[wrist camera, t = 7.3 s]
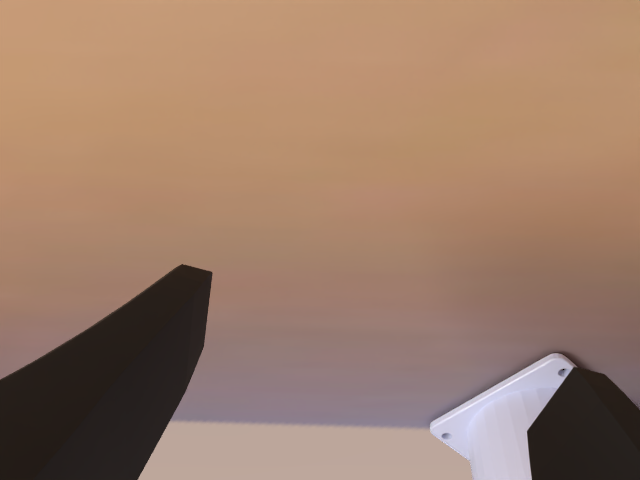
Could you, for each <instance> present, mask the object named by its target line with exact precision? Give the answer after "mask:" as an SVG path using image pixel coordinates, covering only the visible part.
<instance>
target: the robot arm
mask: <svg viewBox="0 0 640 480" xmlns="http://www.w3.org/2000/svg"><path fill="white" fill-rule="evenodd" d="M211 280H212V272H210V271H206V270H203V269H199V268H195V267H191V266H187V265H183V264H182V265H180V266H178V267H176V268H175V269H173V270H172V271H170V272H169V273H168V274H166V275H165V276H164V277H162V278H161V279H160V280H158V281H157V282H155V283H154V284H153V285H151V286H150V287H149V288H147V289H146V290H144V291H143V292H142V293H140V294H139V295H137V296H136V297H134V298H133V299H132V300H130V301H129V302H127V303H126V304H124V305H123V306H121V307H120V308H118V309H117V310H115V311H114V312H112V313H111V314H109V315H108V316H106V317H105V318H103V319H102V320H100V321H99V322H97V323H96V324H94V325H93V326H91V327H90V328H88V329H87V330H85V331H84V332H82V333H80V334H79V335H77V336H75V337H74V338H72V339H70V340H69V341H67V342H65V343H64V344H62V345H60V346H59V347H57V348H55V349H54V350H52V351H50V352H49V353H47V354H45V355H44V356H42V357H40V358H39V359H37V360H35V361H33V362H32V363H30V364H28V365H26V366H24V367H23V368H21V369H19V370H17V371H15V372H14V373H12V374H10V375H8V376H6V377H4V378H2V379H1V380H0V480H137V479H138V478H139V476H140V474H141V472H142V471H143V469H144V467H145V465H146V463H147V461H148V460H149V458H150V456H151V454H152V452H153V451H154V449H155V447H156V445H157V443H158V441H159V440H160V438H161V436H162V434H163V432H164V430H165V429H166V427H167V425H168V423H169V421H170V419H171V418H172V416H173V414H174V412H175V410H176V408H177V407H178V405H179V403H180V401H181V399H182V397H183V395H184V393H185V391H186V389H187V387H188V384H189V382H190V379H191V377H192V375H193V372H194V370H195V367H196V365H197V362H198V360H199V357H200V355H201V352H202V350H203V347H204V340H205V331H206V323H207V314H208V306H209V297H210V289H211ZM561 369H565V370H561ZM430 431H431V433H432V434H433V435H434V436H435V437H437V438H438V439H440V440H441V441H442V442H444V443H445V444H447V445H448V446H449V447H451V448H452V449H454V450H455V451H456V452H458V453H459V454H461V455H462V456H463V457H465V458H466V459H468V460H469V461H470V464H471V471H472V477H473V480H640V410H639V409H638V408H637V407H636V405H635V404H634V403H633V402H632V401H631V400H630V399H629V398H628V397H627V396H626V395H625V394H624V393H623V392H622V391H621V390H620V389H619V388H618V387H617V386H616V385H615V384H614V383H613V382H612V381H611V380H610V379H609V378H608V377H607V376H606V375H605V374H601V373H597V372H593V371H589V370H586V369H582V368H578V367H577V366H576V365H575V364H574V363H572V362H571V361H570V360H569V359H568V358H567V357H565V356H564V355H562V354H559V353H553V354H550V355H548V356H546V357H544V358H542V359H541V360H539V361H537V362H535V363H534V364H532V365H530V366H528V367H527V368H525V369H523V370H521V371H520V372H518V373H516V374H514V375H513V376H511V377H509V378H507V379H506V380H504V381H502V382H500V383H499V384H497V385H495V386H493V387H492V388H490V389H488V390H486V391H485V392H483V393H481V394H479V395H478V396H476V397H474V398H472V399H471V400H469V401H467V402H465V403H464V404H462V405H460V406H458V407H457V408H455V409H453V410H451V411H450V412H448V413H446V414H444V415H443V416H441V417H439V418H437V419H436V420H434V421H432V422H431V424H430Z"/></svg>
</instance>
